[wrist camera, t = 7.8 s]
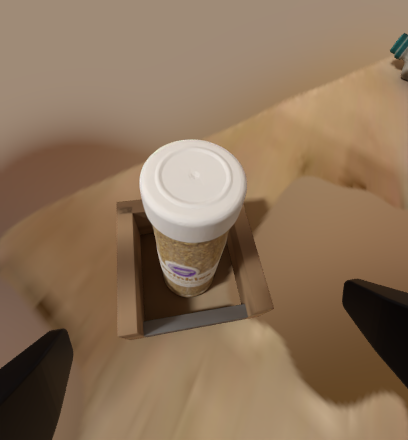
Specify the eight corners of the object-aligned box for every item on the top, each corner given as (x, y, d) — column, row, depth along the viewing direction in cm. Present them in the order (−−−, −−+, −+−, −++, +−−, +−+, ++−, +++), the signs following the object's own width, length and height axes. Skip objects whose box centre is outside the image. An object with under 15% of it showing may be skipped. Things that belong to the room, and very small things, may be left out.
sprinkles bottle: (161, 298, 21) (130, 223, 9) (164, 248, 23) (142, 132, 11) (216, 297, 21) (256, 223, 9) (213, 248, 23) (243, 136, 11)
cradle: (258, 316, 20) (274, 308, 17) (130, 340, 19) (117, 336, 15) (231, 212, 25) (238, 189, 22) (126, 224, 24) (116, 202, 20)
